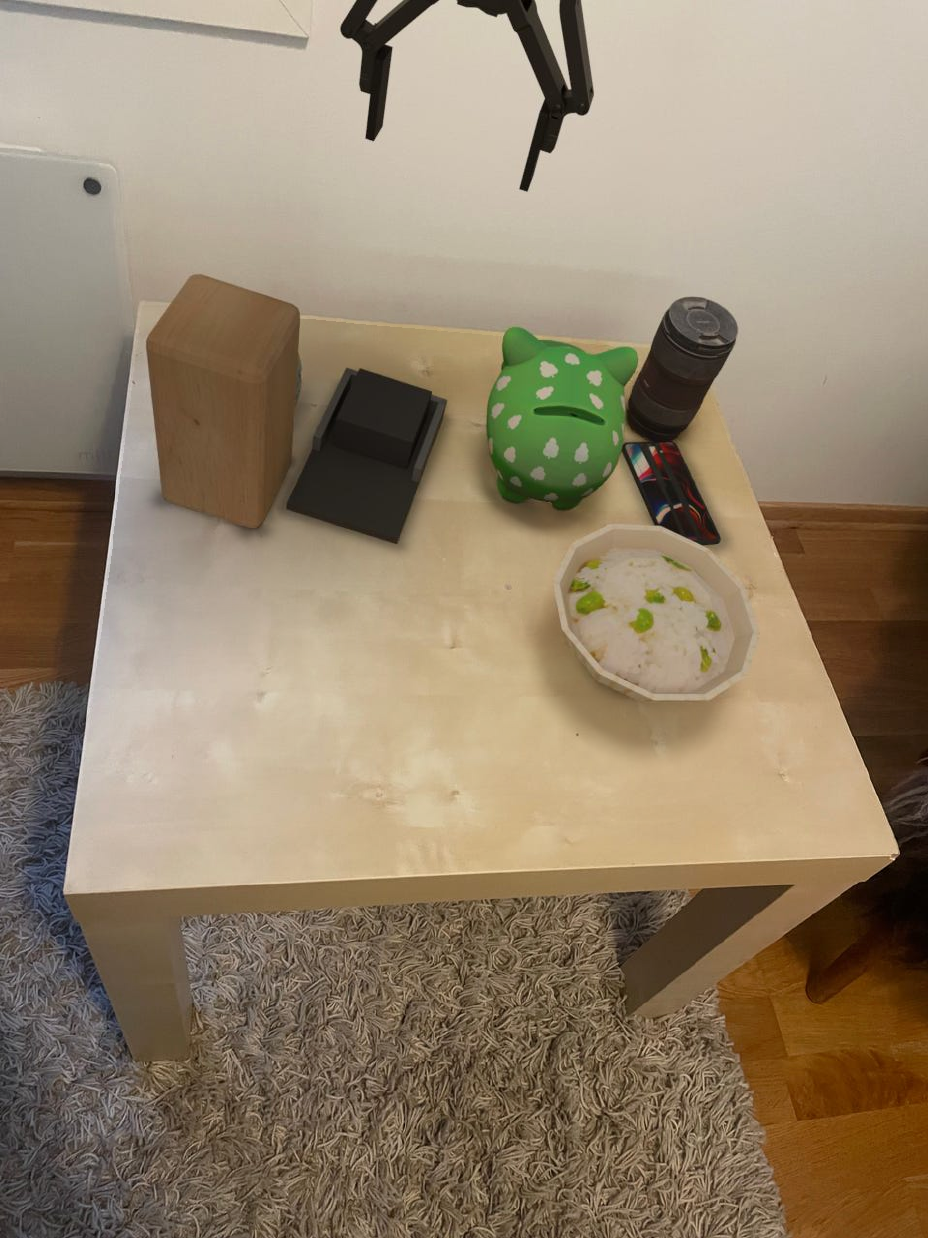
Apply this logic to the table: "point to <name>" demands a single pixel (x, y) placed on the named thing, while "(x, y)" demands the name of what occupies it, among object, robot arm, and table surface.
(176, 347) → the wooden block
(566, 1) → the robot arm
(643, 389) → the camera lens
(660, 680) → the bowl
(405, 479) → the black tray
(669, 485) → the smartphone
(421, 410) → the foam pad
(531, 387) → the piggy bank
